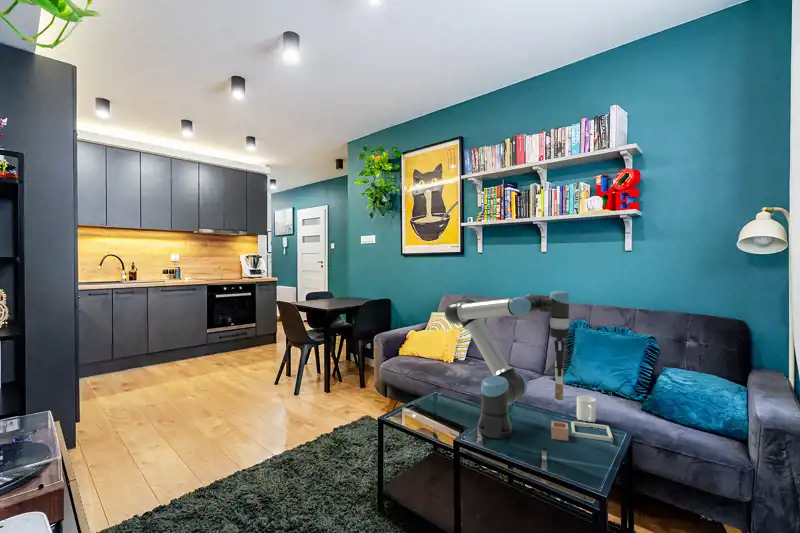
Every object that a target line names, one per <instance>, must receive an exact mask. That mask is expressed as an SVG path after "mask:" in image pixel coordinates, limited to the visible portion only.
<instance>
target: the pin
mask: <svg viewBox="0 0 800 533" xmlns="http://www.w3.org/2000/svg"><path fill="white" fill-rule="evenodd" d="M554 363H555V365H554V367H556V360H555V362H554ZM554 369H555V370H554V371H555V373H554V374H555V376H554V379H555V380H554V381H555V384H554V389H555V390H554V399H555V400H558V401H563V400H564V383H563V384H556V368H554Z"/></svg>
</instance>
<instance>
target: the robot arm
mask: <svg viewBox="0 0 800 533" xmlns="http://www.w3.org/2000/svg"><path fill="white" fill-rule="evenodd" d="M537 312H538V313H545V314H546V313H548V314H549V327H550V330H549V335H550V337H551V338H555V340H554V351H555V361H556V367H555V366H554V369H555V368H556V384H563V385H564V366H565V364H564V352H565V346H566V345H565V344H566V343H565V340H563V339H568V338H569V337H570V329H569V327H570V323H571V320H570V294H569V292H567V291H561V290H560V291H559V290H558V291H557V290H555V291H554V290H553V291H551V292H550V293H549V295H542V294H535V293H531V294H529V293H528V294H526V295H524V296H516V297H509V298H500V299H493V300H492V299H491V300H485V301H483V300H482V301H478V300H476V299H473V298H466V299H460V300H459V299H458V300H453V301H450V302H449V303H448V304H447V305H446V306H445V308H444V316H445V318H446V320H447V321H448V322H449V323H451V324H452V325H453V324H454V325H459V324H461V327H462V328H463V330H464V331H468V333H469V334H470V336H471V337H472V339H473V341H474V343H475V345H476V346H477V349H478V351H479V352H480V353H481V356H482V357H483V359H484V361H485V363H486V365H487V366H488V368H489V370H490V372H491V374H492V376H491V375H490V376H487V377H485V378H484V379H482V380H481V387H480V391H481V398H480V400H481V404H480V405H481V406H480V407H481V408H480V409H481V411H480V412H481V413H480V417H479V418H478V423H477V432H478V431H479V432H480V433H481V434H483V435H485V436H484V437H486V436H487V437H486V438H490V439H496V440H497V439H498V440H499V439H507V438H509V437H511V435H512V433H513V426H512V422H511V420H510V417H509V404H511V403H514V402H515V401H519V400H521V399H522V398H523V397H524V396H526V393H527V391H528V383H527V381H526V378H525V377H524V376H523V374H521V373H518V372H516V370H515V368H514V366H513V367H512V366H511V365H509V364H508V362H507V361H506V359H505V358H504V355H503V354H502V353H501V350H500V349H499V347H498V345H497V344H496V342H495V340H494V338H493V337H492V335H491V333H490V332H489V329H488V328H487V327H486V325H485V322H484V321H485V319H487V318H488V319H489V318H497V317H511V316H525V315H529V314H534V313H537ZM479 432H478V433H479ZM480 433H479V434H480ZM481 434H480V435H481ZM483 435H482V436H483Z"/></svg>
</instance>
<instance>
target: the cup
mask: <svg viewBox="0 0 800 533" xmlns="http://www.w3.org/2000/svg"><path fill="white" fill-rule="evenodd" d="M596 400H597V399H596V398H594V397H592V396H588V395H578V396H576V419H577V420H578V421H579V420H582V421H588V422H593V423H595V422H596V420H597V419H596V418H597V417H596V416H597V413H596V412H597V402H596ZM582 421H581V422H582Z"/></svg>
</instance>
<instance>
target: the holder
mask: <svg viewBox="0 0 800 533" xmlns="http://www.w3.org/2000/svg"><path fill="white" fill-rule="evenodd" d="M550 425H551V429H550V433H551V440H556V441H557V440H558V441H566V442H568V441H569V424H568V423H567V422H563V421H554V420H551V421H550Z"/></svg>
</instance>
